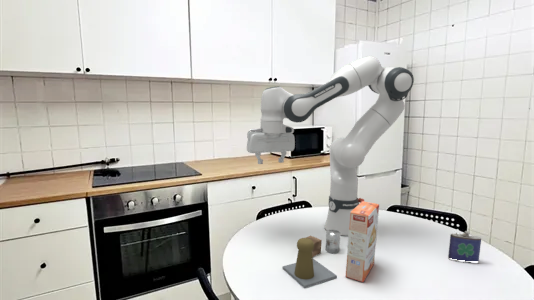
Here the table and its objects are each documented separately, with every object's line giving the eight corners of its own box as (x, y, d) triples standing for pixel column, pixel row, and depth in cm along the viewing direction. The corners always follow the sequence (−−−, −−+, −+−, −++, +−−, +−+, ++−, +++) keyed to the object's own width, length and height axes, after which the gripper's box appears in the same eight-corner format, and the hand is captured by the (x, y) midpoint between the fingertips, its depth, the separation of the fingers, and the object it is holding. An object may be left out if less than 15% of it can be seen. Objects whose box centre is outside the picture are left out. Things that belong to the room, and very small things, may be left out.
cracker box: (364, 283, 90) (369, 215, 87) (344, 277, 93) (348, 211, 90) (375, 264, 101) (380, 203, 99) (357, 259, 105) (361, 200, 102)
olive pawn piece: (313, 280, 89) (314, 245, 88) (292, 277, 91) (293, 242, 89) (315, 270, 95) (316, 236, 94) (296, 267, 96) (297, 234, 95)
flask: (477, 260, 105) (480, 231, 104) (480, 265, 102) (483, 234, 101) (447, 257, 108) (450, 228, 106) (449, 260, 105) (452, 231, 103)
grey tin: (333, 246, 114) (333, 228, 113) (342, 252, 110) (343, 233, 109) (322, 249, 112) (323, 230, 111) (331, 254, 107) (332, 235, 106)
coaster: (312, 260, 103) (312, 258, 103) (336, 278, 92) (336, 275, 92) (282, 268, 97) (282, 266, 97) (304, 288, 87) (304, 285, 87)
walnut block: (310, 248, 112) (310, 235, 111) (321, 253, 109) (321, 239, 108) (301, 252, 109) (301, 239, 108) (312, 257, 105) (312, 243, 104)
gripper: (251, 129, 112) (250, 166, 114) (297, 128, 122) (296, 162, 124) (244, 128, 118) (243, 163, 119) (288, 127, 127) (287, 160, 129)
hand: (270, 163), depth 122 cm, fingers open, 8 cm apart
